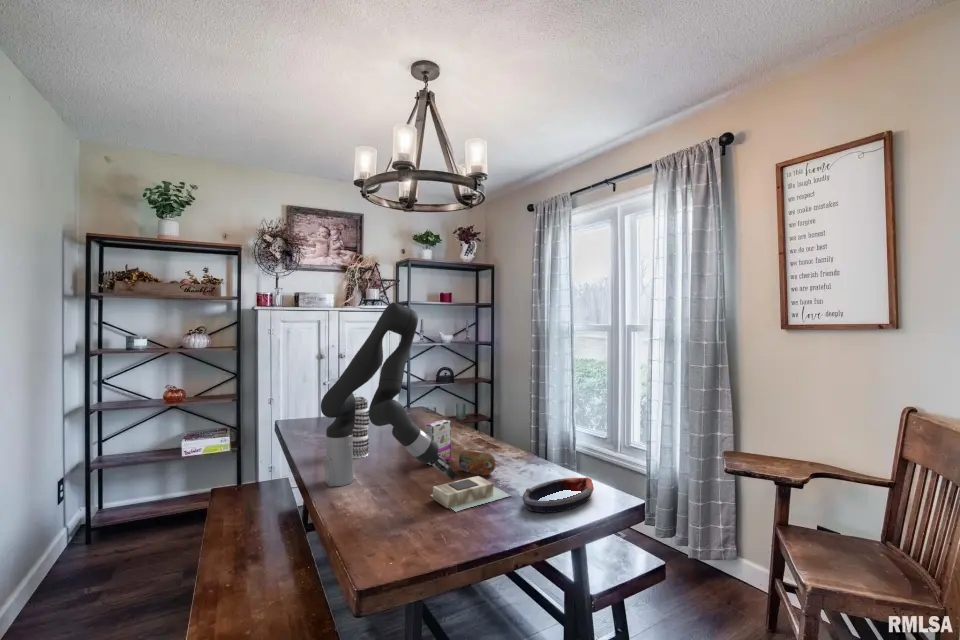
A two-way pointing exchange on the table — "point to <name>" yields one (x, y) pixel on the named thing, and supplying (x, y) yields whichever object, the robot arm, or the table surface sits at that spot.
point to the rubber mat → (481, 500)
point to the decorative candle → (361, 428)
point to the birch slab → (462, 491)
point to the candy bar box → (440, 436)
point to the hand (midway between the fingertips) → (454, 476)
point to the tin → (477, 462)
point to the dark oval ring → (555, 486)
